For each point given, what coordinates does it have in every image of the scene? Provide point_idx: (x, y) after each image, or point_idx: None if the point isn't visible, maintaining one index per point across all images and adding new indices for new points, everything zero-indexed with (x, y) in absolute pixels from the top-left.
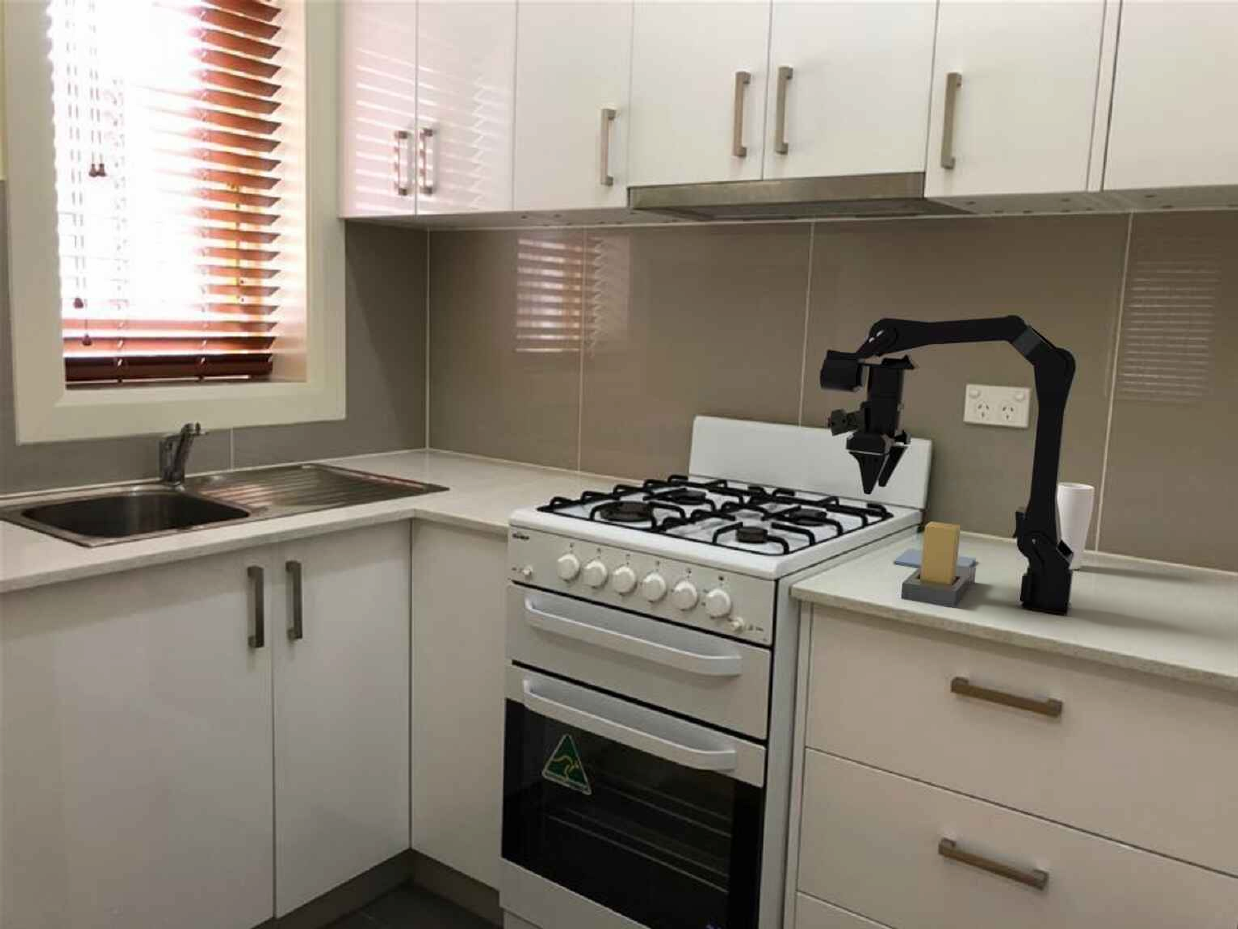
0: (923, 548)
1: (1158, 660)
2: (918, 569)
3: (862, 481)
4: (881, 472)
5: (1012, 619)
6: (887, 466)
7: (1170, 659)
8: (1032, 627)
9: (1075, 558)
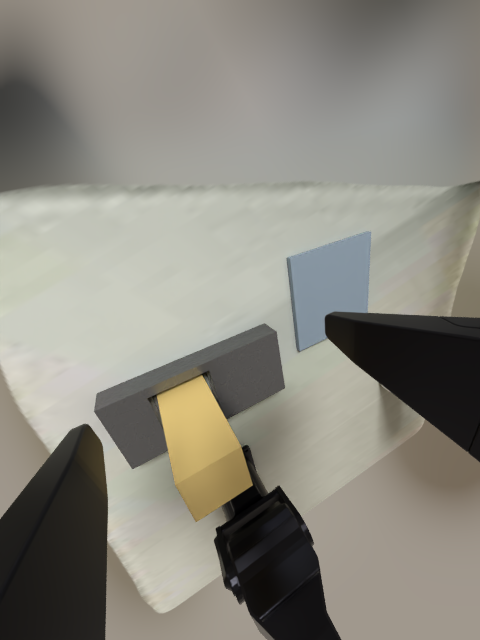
0: (166, 441)
1: (148, 596)
2: (210, 362)
3: (14, 507)
4: (380, 343)
5: (152, 496)
6: (417, 380)
7: (161, 593)
8: (142, 520)
9: (391, 392)
